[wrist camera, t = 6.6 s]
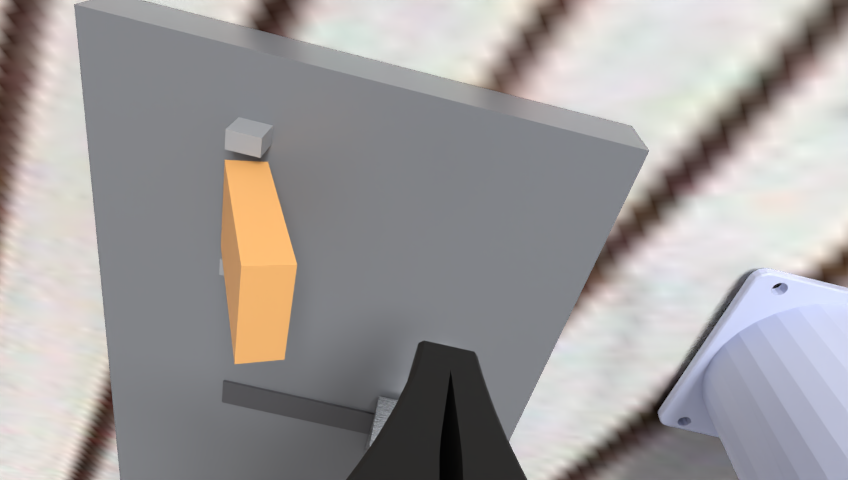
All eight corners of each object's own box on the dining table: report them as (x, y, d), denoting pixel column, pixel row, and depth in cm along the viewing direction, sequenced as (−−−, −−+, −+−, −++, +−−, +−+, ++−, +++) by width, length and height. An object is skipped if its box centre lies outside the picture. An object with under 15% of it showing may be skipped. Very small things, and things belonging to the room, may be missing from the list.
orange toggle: (268, 161, 16) (296, 264, 12) (260, 245, 18) (284, 359, 14) (224, 159, 16) (241, 266, 12) (220, 246, 17) (234, 364, 14)
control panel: (631, 126, 17) (659, 165, 15) (429, 571, 31) (425, 630, 29) (115, -7, 16) (49, 10, 14) (146, 513, 30) (116, 568, 28)
